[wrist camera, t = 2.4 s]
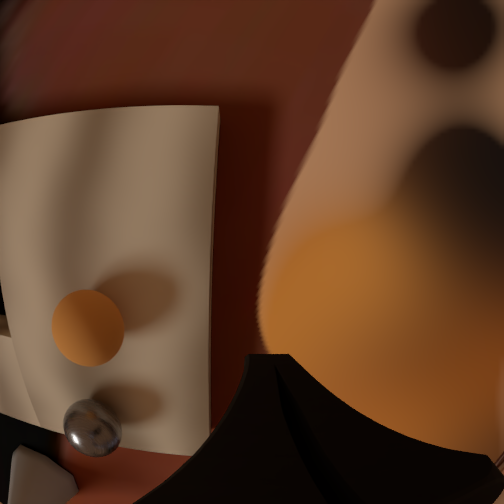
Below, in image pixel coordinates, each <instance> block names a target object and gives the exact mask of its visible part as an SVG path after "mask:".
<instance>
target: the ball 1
mask: <svg viewBox="0 0 504 504" xmlns="http://www.w3.org/2000/svg"><path fill="white" fill-rule="evenodd" d="M51 325H52V335H53V338H54V341H55V343H56V345H57V347H58V349H59V350H60V351H61V353H62V354H63V355H64V356H65V357H66V358H67V359H69V360H70V361H72V362H74V363H76V364H78V365H82V366H88V367H94V366H99V365H102V364H104V363H106V362H108V361H110V360H111V359H112V358H113V357H114V356H115V355H116V354H117V353H118V351H119V350H120V348H121V345H122V343H123V339H124V322H123V318H122V315H121V313H120V311H119V309H118V308H117V306H116V305H115V304H114V302H113V301H112V300H111V299H110V298H108V297H107V296H105V295H104V294H102V293H100V292H97V291H94V290H78V291H74V292H72V293H70V294H68V295H67V296H65V297H64V298H63V299H62V300H61V301H60V302H59V304H58V305H57V307H56V308H55V311H54V313H53V317H52V324H51Z"/></svg>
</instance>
